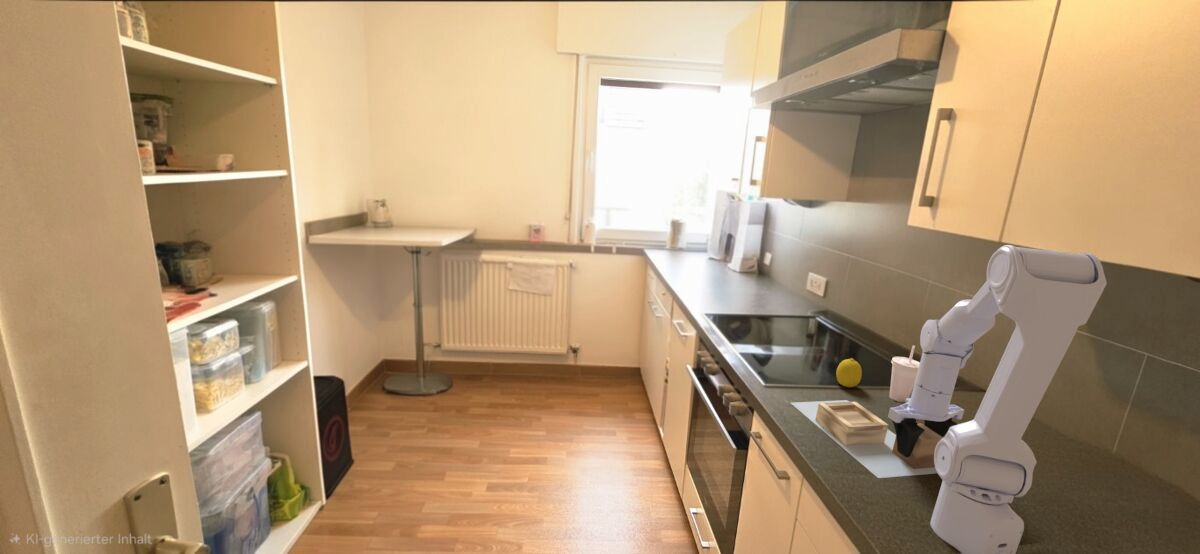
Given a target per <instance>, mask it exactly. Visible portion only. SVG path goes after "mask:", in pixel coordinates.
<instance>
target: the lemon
mask: <svg viewBox="0 0 1200 554" xmlns="http://www.w3.org/2000/svg"><path fill="white" fill-rule="evenodd" d="M835 372H836V373H835V375H836V380H837V382H838V383H839V384H840V385H841V386H842V387H844V388H853V387H856V386H858V384H859V383H860V382H861V379H862V372H863V371H862V367H861V365H860V363H859V362H858V361H856V360H855V359H854V358H852V357H851V358H848V359H844V360H841V362H839V364H838V366H837V368H836V371H835Z"/></svg>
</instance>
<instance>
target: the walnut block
mask: <svg viewBox="0 0 1200 554" xmlns="http://www.w3.org/2000/svg"><path fill="white" fill-rule="evenodd" d="M917 423H918V424H917V425H918V426H920V427H921V428H923V429H924V430H925V431H924V432H923V433H922V434H921V435H920V436H919V438H918V439H917V441H916V443H915V445H914V448H913V451H912V453H911V455H910V456H909V457H905V456H903V455H902V454H901V453H899V452H898V451H897V437H896V439H895V443H894V446H893V450H892V453H893V454H895V455H896V456H897V457H899V458H900V459H901V460H903V461H904V462H905V463H907V464H908V465H909V466H910V467H912V468H913V469H920V468H932V467H935V464H934V452H935V448H936V445H937V443H938V442H939V441H940V440H941V439H942V438H943V437H942V436H940V435H939V434H937V433H936V432H934V431H933V430H931V429H929V428H928V427H926V426H925V425H924V423H922V422H917Z"/></svg>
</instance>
